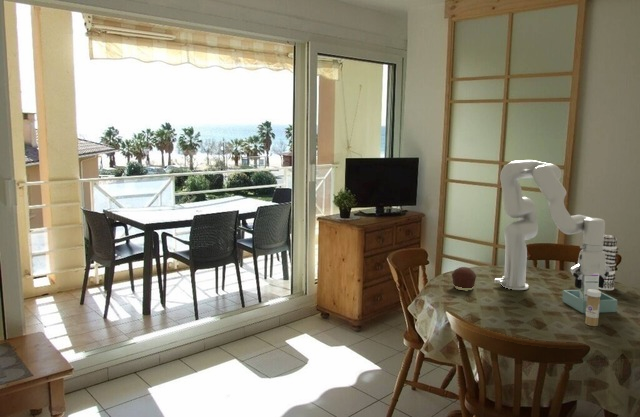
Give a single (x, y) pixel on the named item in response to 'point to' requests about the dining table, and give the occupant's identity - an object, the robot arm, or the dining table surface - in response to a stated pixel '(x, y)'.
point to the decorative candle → (610, 260)
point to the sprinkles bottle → (592, 307)
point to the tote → (574, 301)
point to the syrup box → (588, 285)
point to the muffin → (464, 277)
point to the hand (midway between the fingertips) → (589, 287)
